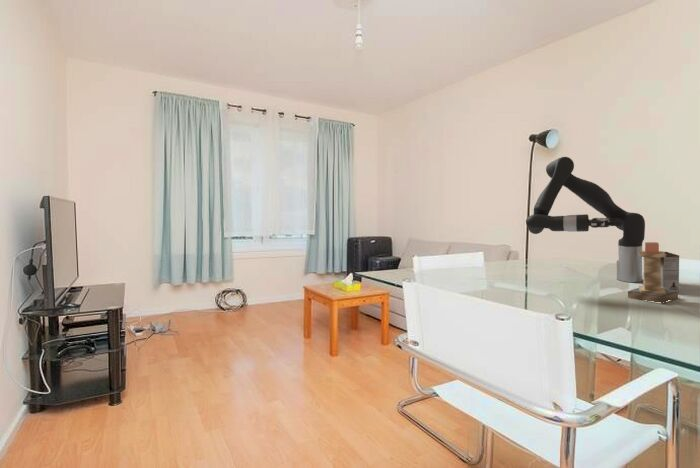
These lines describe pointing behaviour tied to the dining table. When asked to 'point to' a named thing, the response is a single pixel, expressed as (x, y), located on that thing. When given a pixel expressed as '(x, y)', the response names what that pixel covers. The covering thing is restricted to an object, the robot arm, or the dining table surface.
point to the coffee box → (669, 271)
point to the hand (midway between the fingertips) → (621, 222)
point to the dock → (653, 295)
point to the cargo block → (651, 248)
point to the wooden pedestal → (651, 273)
